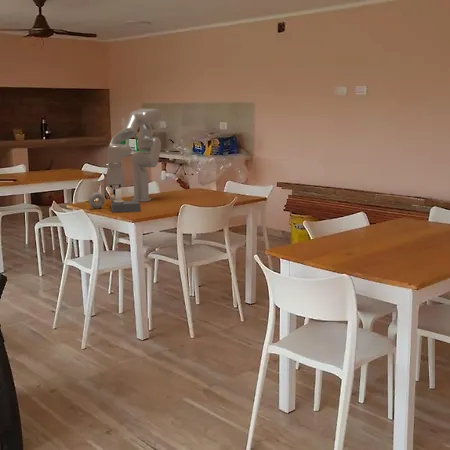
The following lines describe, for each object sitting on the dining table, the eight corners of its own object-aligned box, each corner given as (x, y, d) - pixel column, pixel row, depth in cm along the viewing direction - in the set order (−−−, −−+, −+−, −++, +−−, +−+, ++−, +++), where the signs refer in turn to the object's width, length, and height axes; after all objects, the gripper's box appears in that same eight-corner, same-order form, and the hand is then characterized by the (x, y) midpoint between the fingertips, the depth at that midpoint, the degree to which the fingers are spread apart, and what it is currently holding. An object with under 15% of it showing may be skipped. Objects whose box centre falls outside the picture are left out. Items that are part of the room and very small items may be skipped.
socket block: (111, 209, 370) (110, 199, 368) (137, 208, 374) (137, 198, 373) (113, 212, 359) (112, 201, 358) (140, 211, 364) (140, 200, 362)
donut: (90, 209, 368) (89, 193, 366) (88, 209, 371) (87, 192, 369) (105, 208, 374) (105, 191, 372) (103, 207, 377) (102, 191, 375)
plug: (113, 210, 368) (112, 188, 365) (123, 209, 369) (122, 188, 367) (114, 211, 362) (113, 190, 359) (124, 211, 364) (124, 189, 361)
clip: (110, 199, 365) (110, 196, 364) (109, 196, 379) (109, 192, 378) (114, 199, 365) (114, 196, 365) (113, 196, 379) (113, 192, 379)
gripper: (102, 166, 368) (103, 196, 371) (127, 166, 371) (128, 196, 374) (102, 165, 375) (103, 195, 379) (127, 165, 378) (127, 194, 382)
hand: (115, 195), depth 376 cm, fingers closed
